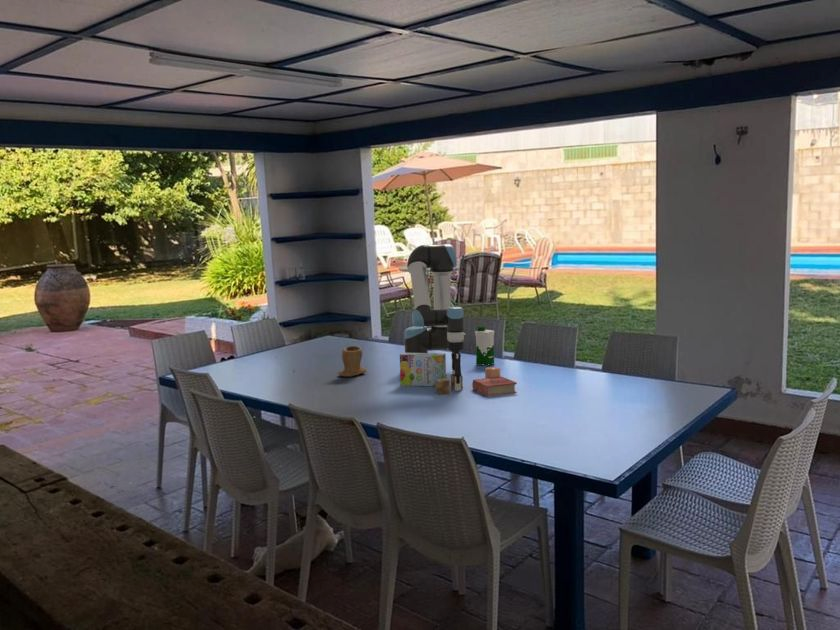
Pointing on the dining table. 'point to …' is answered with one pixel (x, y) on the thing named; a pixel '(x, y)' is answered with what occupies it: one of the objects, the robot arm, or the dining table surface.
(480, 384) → the book
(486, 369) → the tan rounded glossy cylinder
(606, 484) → the dining table surface
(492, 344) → the milk carton
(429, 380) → the snack box
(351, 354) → the orange vase
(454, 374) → the block
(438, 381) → the block
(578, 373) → the dining table surface
